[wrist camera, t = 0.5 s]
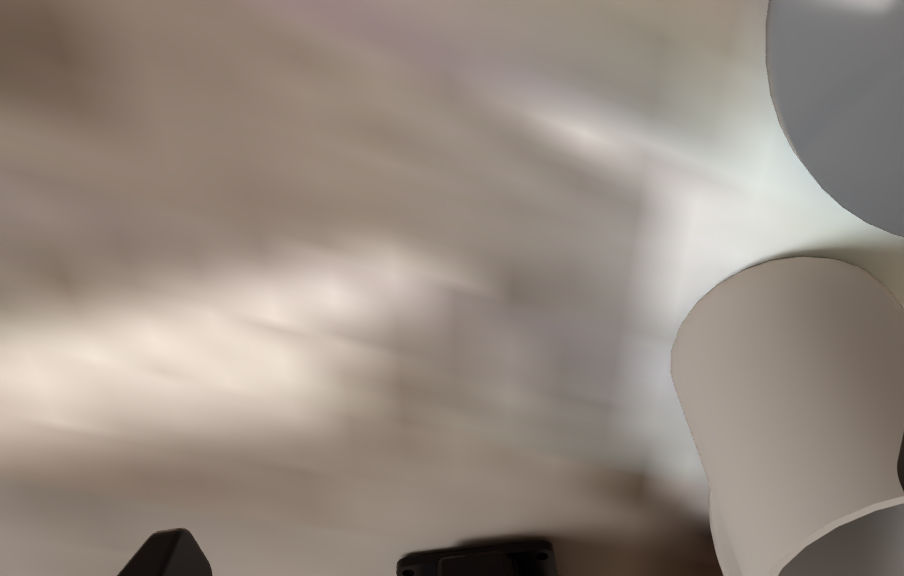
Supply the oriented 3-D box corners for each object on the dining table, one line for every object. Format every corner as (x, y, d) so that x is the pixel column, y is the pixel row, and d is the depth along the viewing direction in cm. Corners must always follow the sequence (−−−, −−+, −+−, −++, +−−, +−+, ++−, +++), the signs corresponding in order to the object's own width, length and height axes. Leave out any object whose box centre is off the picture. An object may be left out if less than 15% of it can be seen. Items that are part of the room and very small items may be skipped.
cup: (935, 271, 24) (1147, 509, 17) (781, 477, 30) (892, 718, 23) (722, 228, 23) (855, 465, 16) (605, 451, 29) (664, 698, 22)
